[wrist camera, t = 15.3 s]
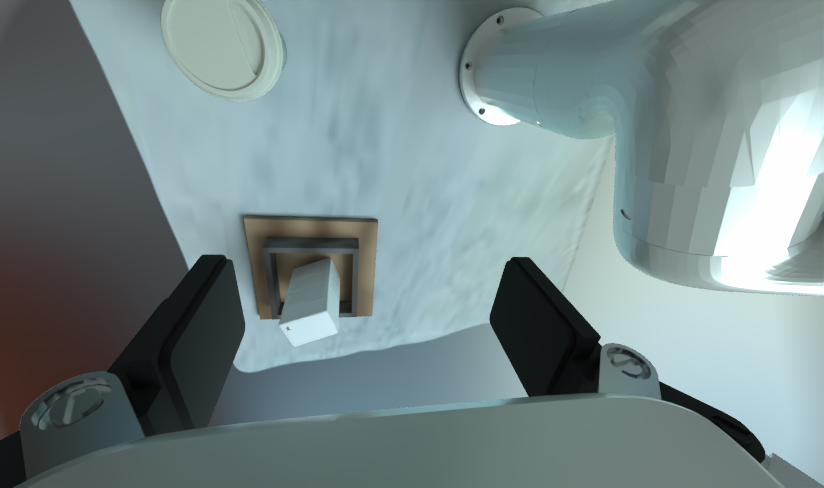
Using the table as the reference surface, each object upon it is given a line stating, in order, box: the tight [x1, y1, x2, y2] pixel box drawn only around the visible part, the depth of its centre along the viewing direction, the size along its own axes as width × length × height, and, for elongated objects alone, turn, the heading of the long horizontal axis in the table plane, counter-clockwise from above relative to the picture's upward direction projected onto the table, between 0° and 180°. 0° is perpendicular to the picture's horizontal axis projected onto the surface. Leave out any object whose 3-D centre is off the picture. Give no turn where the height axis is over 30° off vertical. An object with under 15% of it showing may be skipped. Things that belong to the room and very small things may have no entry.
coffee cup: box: [161, 0, 287, 102], centre depth 29 cm, size 8×9×12 cm
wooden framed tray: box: [244, 216, 378, 319], centre depth 47 cm, size 18×18×4 cm
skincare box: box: [279, 257, 340, 347], centre depth 43 cm, size 6×4×12 cm
